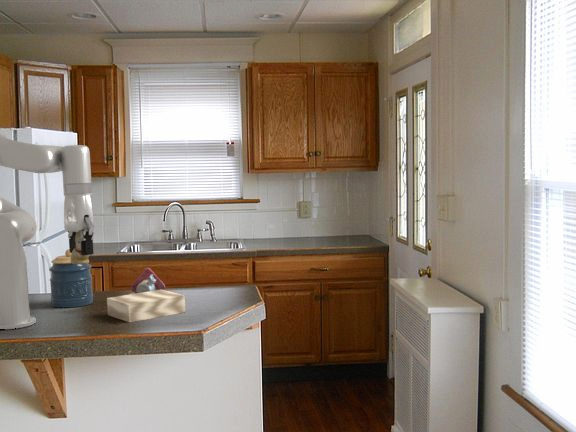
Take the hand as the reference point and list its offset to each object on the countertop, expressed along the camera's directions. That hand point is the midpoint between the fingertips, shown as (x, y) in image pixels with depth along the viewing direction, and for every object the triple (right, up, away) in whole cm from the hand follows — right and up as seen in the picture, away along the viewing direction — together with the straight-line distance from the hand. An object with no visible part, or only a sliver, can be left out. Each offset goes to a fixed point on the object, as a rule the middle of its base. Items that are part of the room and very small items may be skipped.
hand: (81, 253), depth 202 cm
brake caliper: (+13, -17, +29) cm, 36 cm away
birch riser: (+16, -18, +12) cm, 27 cm away
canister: (-11, -18, +30) cm, 37 cm away
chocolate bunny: (0, -3, +1) cm, 3 cm away
